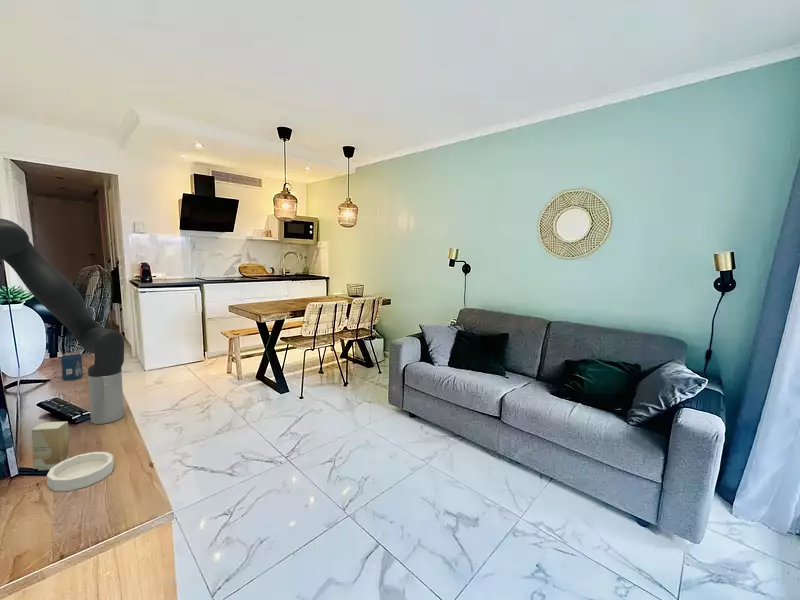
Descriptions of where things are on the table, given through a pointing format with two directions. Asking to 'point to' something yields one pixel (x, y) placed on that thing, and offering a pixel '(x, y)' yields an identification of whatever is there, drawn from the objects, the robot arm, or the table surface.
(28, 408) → the table surface
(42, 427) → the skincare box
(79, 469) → the ceramic dish
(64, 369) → the blue carton
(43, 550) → the table surface
